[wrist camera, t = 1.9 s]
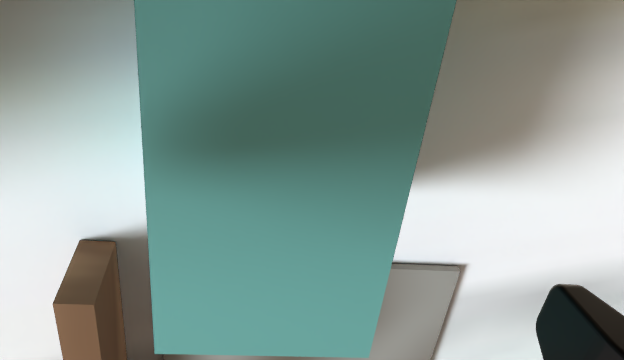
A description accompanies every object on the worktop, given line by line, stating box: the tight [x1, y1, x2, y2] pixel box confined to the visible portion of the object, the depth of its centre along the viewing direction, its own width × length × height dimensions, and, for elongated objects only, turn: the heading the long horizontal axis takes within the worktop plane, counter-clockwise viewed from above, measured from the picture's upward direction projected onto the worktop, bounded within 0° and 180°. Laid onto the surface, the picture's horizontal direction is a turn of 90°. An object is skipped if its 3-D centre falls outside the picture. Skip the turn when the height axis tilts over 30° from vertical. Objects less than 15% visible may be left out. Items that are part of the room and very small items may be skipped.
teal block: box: [134, 0, 457, 358], centre depth 14 cm, size 5×9×7 cm, turn 174°
